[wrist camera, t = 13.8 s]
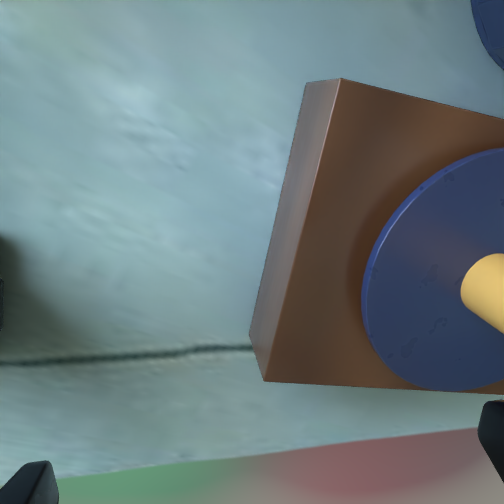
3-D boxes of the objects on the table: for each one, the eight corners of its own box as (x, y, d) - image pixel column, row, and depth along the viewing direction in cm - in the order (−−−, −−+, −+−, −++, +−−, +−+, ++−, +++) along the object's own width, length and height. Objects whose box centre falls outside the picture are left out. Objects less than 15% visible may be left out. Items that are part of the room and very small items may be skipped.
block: (248, 335, 22) (263, 382, 18) (305, 82, 18) (340, 77, 14) (502, 356, 26) (557, 398, 22) (597, 153, 22) (682, 164, 18)
